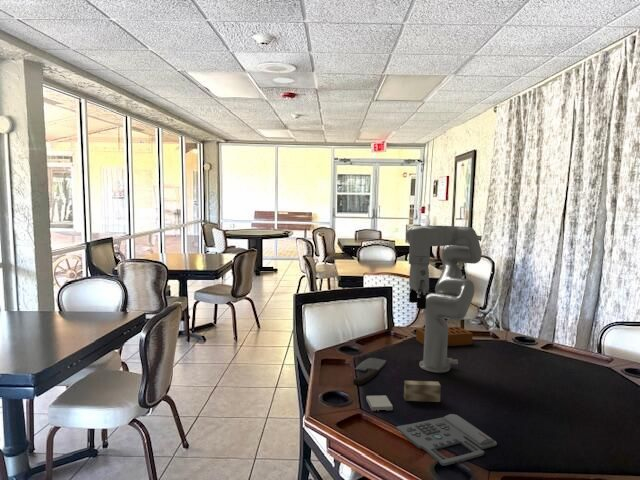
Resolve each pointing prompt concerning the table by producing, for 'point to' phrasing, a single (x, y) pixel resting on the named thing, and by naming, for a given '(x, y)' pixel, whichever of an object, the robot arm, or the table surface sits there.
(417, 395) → the tan wooden block
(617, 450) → the table surface
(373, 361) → the cleaver
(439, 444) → the office telephone
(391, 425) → the table surface
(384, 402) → the tile
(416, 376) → the table surface
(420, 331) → the brick
